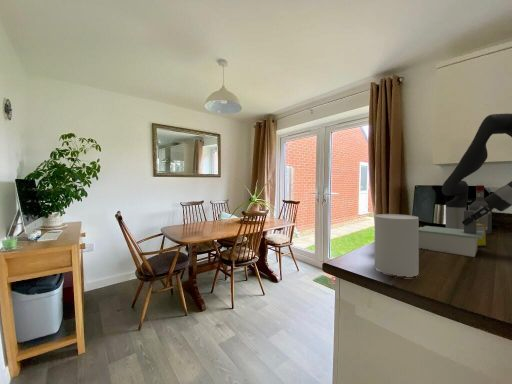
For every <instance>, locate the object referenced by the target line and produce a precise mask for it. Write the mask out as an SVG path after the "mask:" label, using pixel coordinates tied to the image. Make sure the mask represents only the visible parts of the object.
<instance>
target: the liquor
mask: <svg viewBox="0 0 512 384" xmlns="http://www.w3.org/2000/svg"><path fill="white" fill-rule="evenodd" d="M475 192H476V193H475V194H476V195H475V197H476V198H475V201H472V203H471V204H470V205H469V206H468V211H476V210H477V209H479V208H480V207H481V206H482V205H484V206H486V205H488V203H487V202H486V201H485V200H484V199H485V185H484V184H483V185H476V186H475ZM491 211H492V212H491V213H490V214H487V215H486V216H484V217H482V218H479V219H478V220H477V224H482V225H486V235H491V233H492V230H493V229H492V225H493V224H492V223H493V220H492V219H493V209H492V210H491Z"/></svg>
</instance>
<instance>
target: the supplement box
mask: <svg viewBox="0 0 512 384" xmlns="http://www.w3.org/2000/svg"><path fill="white" fill-rule="evenodd" d="M463 230H464V224H463ZM477 231H484V233H483V236H482V239H477V248H478V247H481V248H485V247H486V243H487V242H486V236H487V234H486V225H482V224H477Z"/></svg>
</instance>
